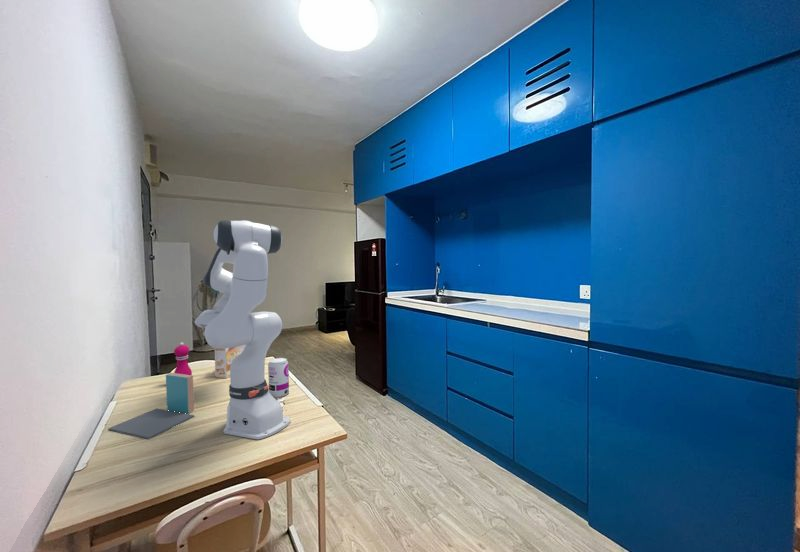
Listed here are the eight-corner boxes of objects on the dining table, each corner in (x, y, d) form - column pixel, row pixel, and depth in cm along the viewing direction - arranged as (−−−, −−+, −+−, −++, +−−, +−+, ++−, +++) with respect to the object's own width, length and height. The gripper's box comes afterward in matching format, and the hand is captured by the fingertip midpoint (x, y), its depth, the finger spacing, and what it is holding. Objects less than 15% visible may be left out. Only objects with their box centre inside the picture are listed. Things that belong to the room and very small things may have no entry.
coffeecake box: (227, 378, 160) (225, 339, 159) (214, 377, 161) (213, 339, 161) (247, 368, 175) (245, 333, 174) (235, 368, 176) (234, 332, 175)
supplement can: (291, 390, 144) (290, 357, 143) (285, 397, 135) (284, 362, 135) (273, 390, 143) (272, 357, 143) (266, 398, 135) (265, 363, 135)
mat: (156, 409, 126) (156, 408, 126) (194, 416, 120) (194, 415, 120) (108, 430, 111) (108, 428, 111) (149, 439, 104) (149, 437, 104)
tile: (173, 407, 128) (172, 372, 127) (194, 411, 124) (192, 375, 124) (167, 410, 125) (165, 374, 125) (188, 414, 122) (186, 377, 121)
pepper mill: (195, 381, 157) (194, 340, 156) (184, 386, 150) (182, 344, 149) (182, 380, 158) (180, 340, 157) (170, 386, 150) (168, 344, 150)
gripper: (202, 304, 146) (183, 330, 137) (238, 305, 139) (219, 332, 130) (211, 312, 150) (193, 338, 141) (246, 314, 144) (229, 341, 135)
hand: (206, 335), depth 136 cm, fingers closed
